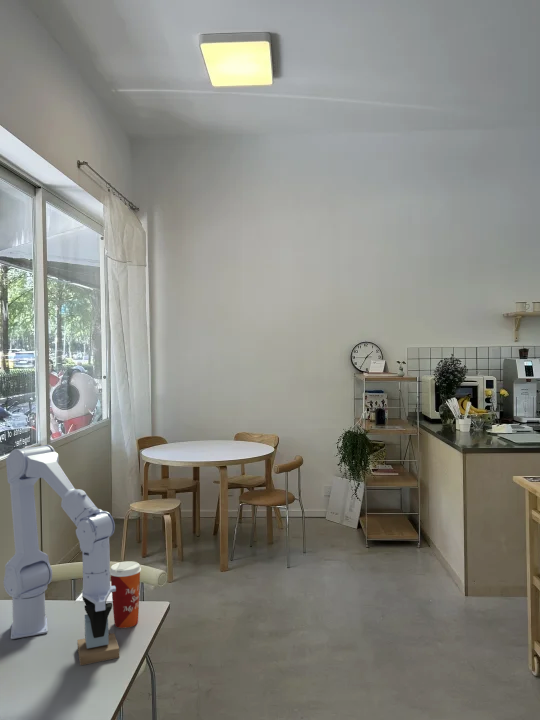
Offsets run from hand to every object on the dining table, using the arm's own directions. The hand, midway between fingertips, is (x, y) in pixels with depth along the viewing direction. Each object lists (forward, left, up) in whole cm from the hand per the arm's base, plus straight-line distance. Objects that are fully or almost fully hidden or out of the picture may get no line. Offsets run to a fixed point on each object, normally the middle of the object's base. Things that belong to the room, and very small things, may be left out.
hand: (97, 632), depth 128 cm
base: (0, 0, -5) cm, 5 cm away
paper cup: (-13, +8, -5) cm, 16 cm away
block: (0, 0, -2) cm, 2 cm away
